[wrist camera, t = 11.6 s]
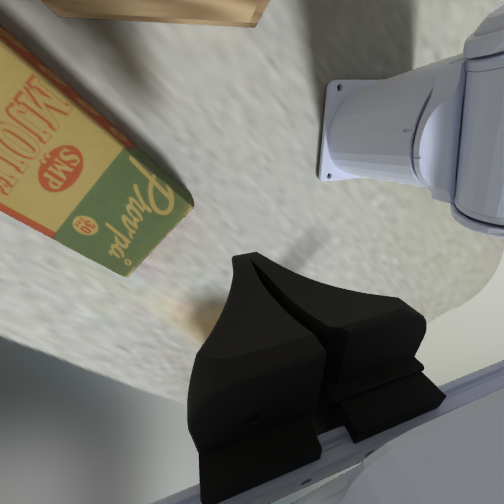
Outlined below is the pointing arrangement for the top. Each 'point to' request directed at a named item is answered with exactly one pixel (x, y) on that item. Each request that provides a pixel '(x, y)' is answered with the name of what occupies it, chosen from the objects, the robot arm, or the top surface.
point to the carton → (78, 169)
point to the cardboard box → (165, 11)
